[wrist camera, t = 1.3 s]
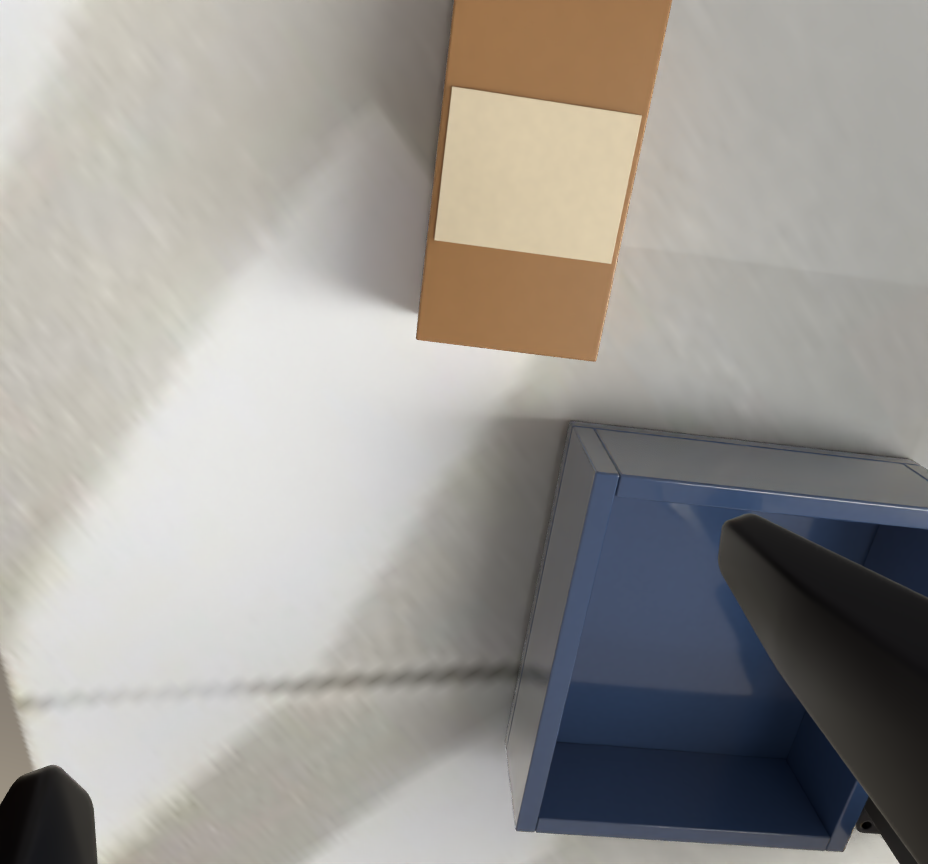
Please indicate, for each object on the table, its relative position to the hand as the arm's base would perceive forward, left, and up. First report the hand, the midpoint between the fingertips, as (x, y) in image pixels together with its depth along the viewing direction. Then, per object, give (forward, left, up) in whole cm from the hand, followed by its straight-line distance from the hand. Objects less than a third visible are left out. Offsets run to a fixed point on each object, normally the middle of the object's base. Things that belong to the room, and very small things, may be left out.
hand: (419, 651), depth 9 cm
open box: (-12, +10, -17) cm, 23 cm away
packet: (-2, -6, -17) cm, 18 cm away
